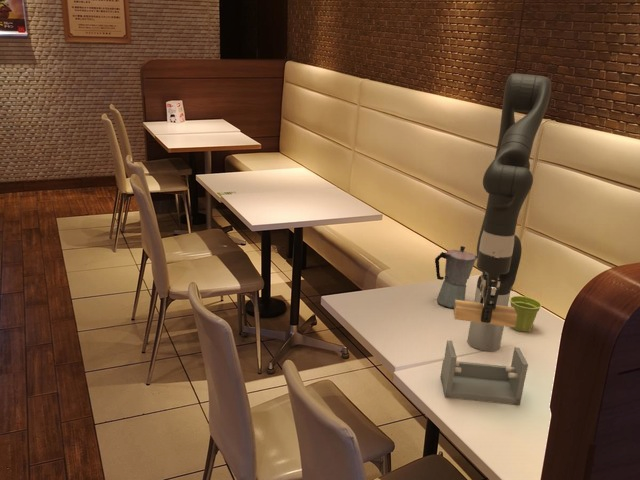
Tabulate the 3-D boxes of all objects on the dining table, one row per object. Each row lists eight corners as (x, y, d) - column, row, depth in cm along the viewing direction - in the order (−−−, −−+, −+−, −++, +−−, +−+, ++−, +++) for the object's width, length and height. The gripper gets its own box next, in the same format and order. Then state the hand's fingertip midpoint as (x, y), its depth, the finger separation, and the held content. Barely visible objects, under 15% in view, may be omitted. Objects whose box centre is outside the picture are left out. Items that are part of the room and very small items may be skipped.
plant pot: (512, 318, 202) (516, 293, 199) (540, 328, 196) (546, 302, 194) (499, 327, 195) (504, 301, 192) (529, 337, 189) (534, 311, 186)
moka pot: (477, 308, 207) (488, 250, 201) (437, 312, 201) (446, 252, 195) (461, 296, 215) (470, 240, 209) (422, 299, 210) (430, 242, 203)
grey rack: (440, 377, 163) (446, 338, 159) (510, 384, 162) (518, 345, 159) (445, 397, 154) (451, 356, 150) (519, 404, 153) (528, 364, 150)
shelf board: (453, 310, 156) (455, 299, 155) (511, 318, 154) (514, 307, 153) (454, 319, 151) (456, 307, 150) (514, 327, 149) (517, 315, 148)
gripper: (476, 239, 154) (466, 303, 160) (482, 258, 141) (470, 327, 146) (508, 243, 154) (496, 307, 159) (516, 262, 140) (503, 332, 145)
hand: (484, 317), depth 152 cm, fingers closed on shelf board, 5 cm apart
